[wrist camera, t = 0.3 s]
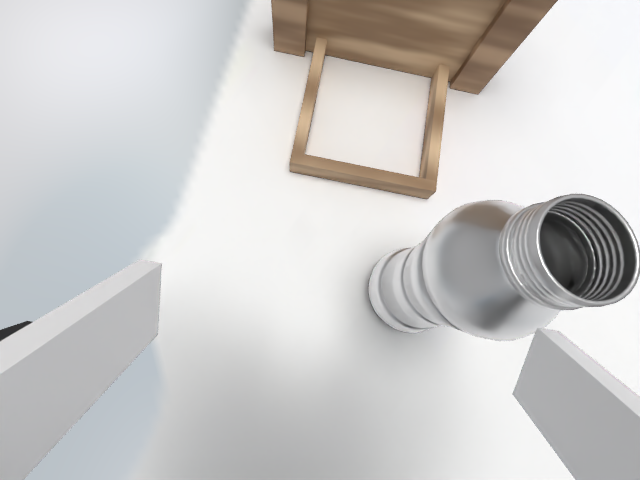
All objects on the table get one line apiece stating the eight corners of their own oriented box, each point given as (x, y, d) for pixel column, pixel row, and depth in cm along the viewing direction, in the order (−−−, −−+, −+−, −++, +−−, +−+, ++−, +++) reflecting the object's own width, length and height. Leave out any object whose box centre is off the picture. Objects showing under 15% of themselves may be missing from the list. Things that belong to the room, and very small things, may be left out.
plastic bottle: (379, 342, 30) (551, 392, 10) (351, 267, 31) (457, 181, 11) (447, 316, 31) (723, 316, 11) (417, 244, 32) (620, 129, 12)
